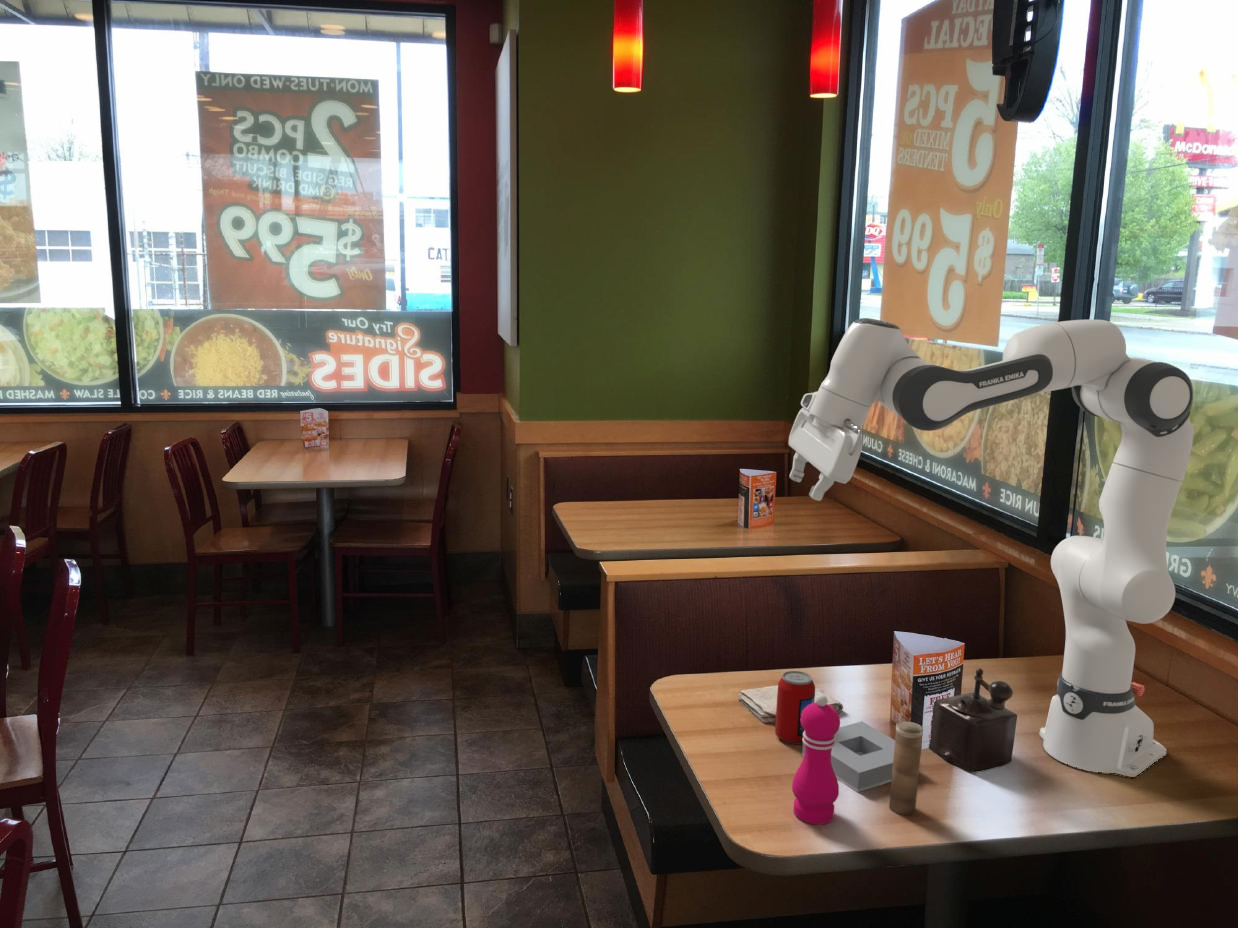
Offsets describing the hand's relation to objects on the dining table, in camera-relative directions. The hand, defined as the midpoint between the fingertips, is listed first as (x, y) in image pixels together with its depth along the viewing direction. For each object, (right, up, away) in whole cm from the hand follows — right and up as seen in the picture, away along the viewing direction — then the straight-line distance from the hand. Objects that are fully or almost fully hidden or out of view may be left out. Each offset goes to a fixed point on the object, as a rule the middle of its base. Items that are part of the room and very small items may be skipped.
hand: (804, 489), depth 159 cm
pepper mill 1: (0, -51, -8) cm, 52 cm away
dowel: (+15, -51, -6) cm, 53 cm away
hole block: (+11, -48, +8) cm, 50 cm away
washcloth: (+3, -45, +31) cm, 54 cm away
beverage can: (+1, -47, +18) cm, 50 cm away
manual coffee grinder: (+33, -49, +11) cm, 60 cm away
